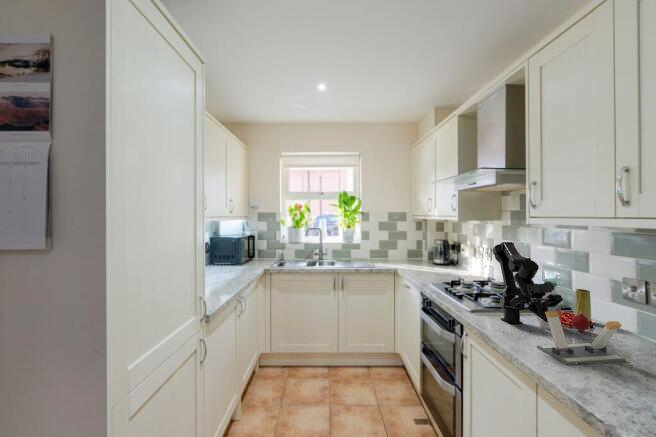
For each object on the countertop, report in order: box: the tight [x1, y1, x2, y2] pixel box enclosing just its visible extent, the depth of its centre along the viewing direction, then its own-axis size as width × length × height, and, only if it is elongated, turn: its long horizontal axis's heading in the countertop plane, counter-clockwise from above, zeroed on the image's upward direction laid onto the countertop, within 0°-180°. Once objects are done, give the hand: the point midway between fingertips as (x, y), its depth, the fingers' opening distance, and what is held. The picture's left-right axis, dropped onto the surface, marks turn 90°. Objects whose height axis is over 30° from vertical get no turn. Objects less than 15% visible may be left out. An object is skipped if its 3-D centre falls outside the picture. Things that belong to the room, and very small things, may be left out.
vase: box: [573, 288, 592, 322], centre depth 146 cm, size 6×6×14 cm
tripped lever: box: [545, 311, 568, 352], centre depth 114 cm, size 2×4×14 cm, turn 96°
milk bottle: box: [538, 280, 562, 330], centre depth 138 cm, size 8×8×20 cm
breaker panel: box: [536, 342, 627, 365], centre depth 113 cm, size 13×22×2 cm, turn 96°
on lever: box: [590, 320, 622, 350], centre depth 110 cm, size 2×4×14 cm
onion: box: [571, 313, 590, 332], centre depth 134 cm, size 6×6×8 cm
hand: (548, 321), depth 118 cm, fingers closed
